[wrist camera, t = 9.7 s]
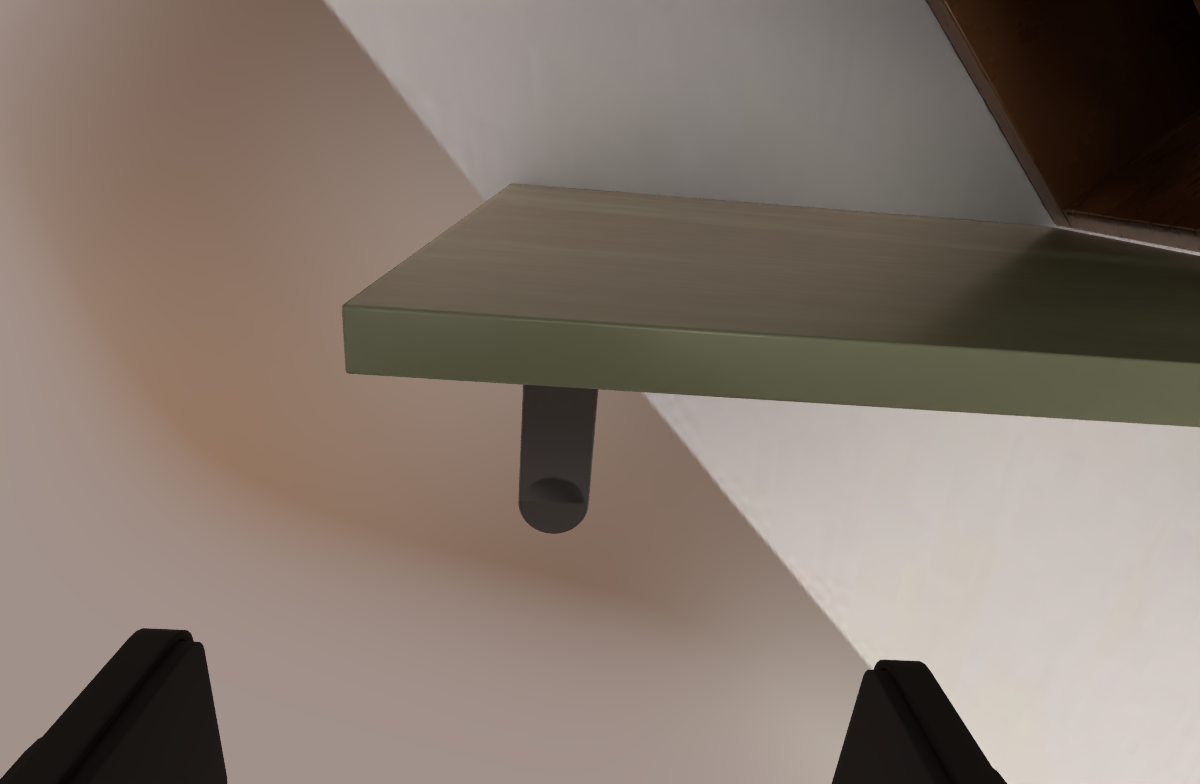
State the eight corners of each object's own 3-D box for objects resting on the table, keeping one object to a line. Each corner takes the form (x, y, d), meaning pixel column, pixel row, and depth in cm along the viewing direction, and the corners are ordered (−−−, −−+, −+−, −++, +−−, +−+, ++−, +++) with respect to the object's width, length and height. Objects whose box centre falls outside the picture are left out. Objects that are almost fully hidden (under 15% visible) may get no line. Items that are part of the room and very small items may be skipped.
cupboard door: (1003, 367, 36) (1734, 767, 13) (506, 334, 34) (365, 720, 12) (1047, 226, 33) (2058, 422, 10) (510, 183, 31) (340, 304, 9)
